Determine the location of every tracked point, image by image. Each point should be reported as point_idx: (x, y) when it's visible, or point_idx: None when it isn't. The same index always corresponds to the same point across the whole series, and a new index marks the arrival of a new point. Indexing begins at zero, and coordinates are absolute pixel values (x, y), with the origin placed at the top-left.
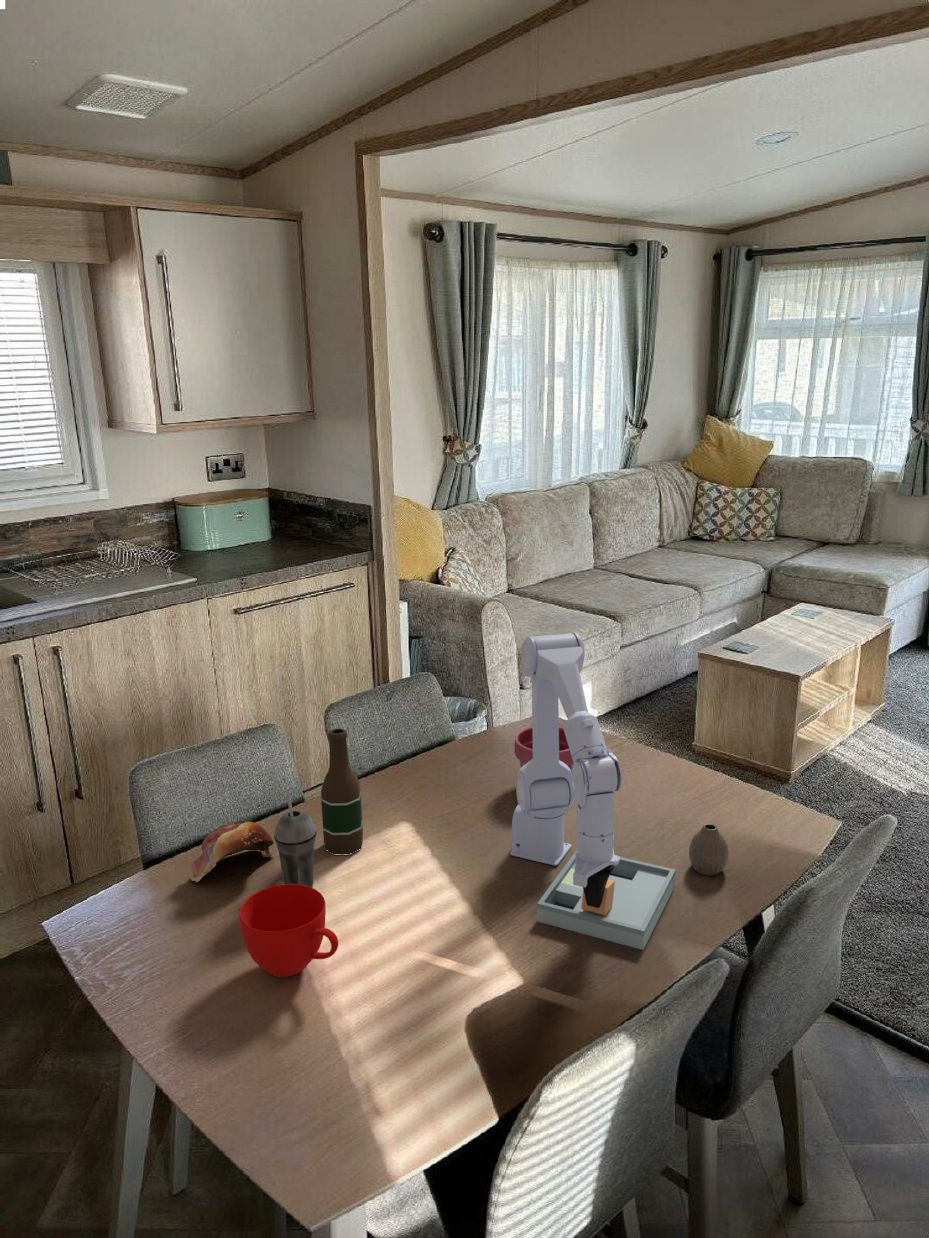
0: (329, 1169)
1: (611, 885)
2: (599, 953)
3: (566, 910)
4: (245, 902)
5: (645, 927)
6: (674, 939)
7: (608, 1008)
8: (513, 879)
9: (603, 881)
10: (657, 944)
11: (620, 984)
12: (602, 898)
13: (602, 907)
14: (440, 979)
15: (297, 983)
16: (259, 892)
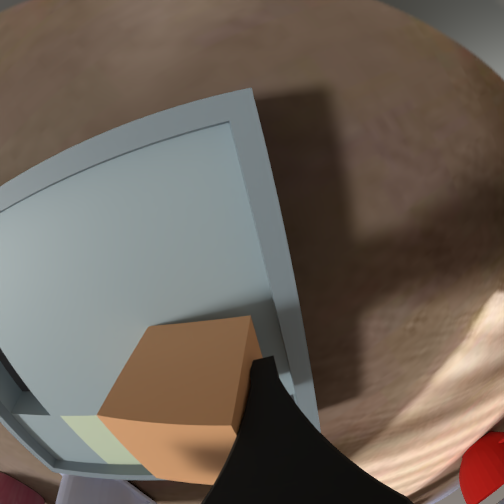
0: None
1: (151, 415)
2: (354, 222)
3: (313, 408)
4: (494, 490)
5: (214, 99)
6: (105, 59)
7: (496, 101)
8: (207, 485)
9: (391, 491)
10: (171, 82)
11: (435, 99)
12: (255, 385)
13: (249, 348)
14: (496, 371)
15: (499, 421)
16: (481, 500)
